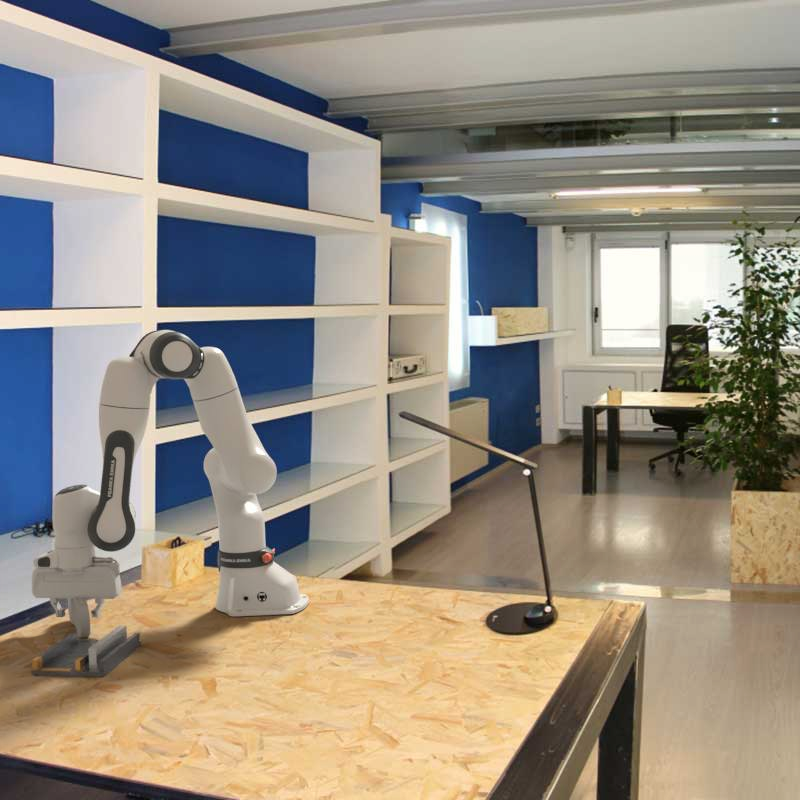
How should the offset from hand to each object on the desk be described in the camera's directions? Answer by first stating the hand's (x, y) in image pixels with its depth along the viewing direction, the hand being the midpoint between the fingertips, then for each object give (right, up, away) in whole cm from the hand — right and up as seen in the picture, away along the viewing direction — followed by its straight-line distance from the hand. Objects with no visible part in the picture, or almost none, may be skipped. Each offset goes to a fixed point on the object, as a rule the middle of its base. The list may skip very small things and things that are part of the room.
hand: (78, 616), depth 233 cm
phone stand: (+9, -5, -21) cm, 23 cm away
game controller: (0, -3, 0) cm, 3 cm away
